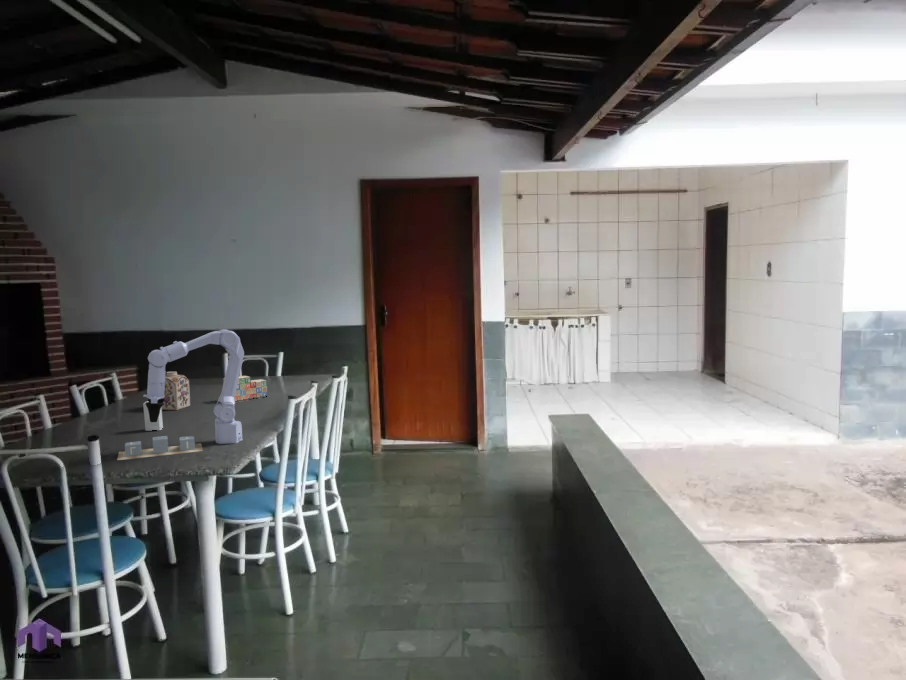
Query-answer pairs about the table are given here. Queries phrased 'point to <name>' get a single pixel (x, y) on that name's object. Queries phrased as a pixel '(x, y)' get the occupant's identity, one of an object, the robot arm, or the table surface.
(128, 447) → the block with a 7
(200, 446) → the birch board
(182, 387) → the decorative jar
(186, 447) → the block with a 1
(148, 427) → the skincare box
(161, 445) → the plain block
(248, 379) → the stack of blocks
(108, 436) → the table surface
